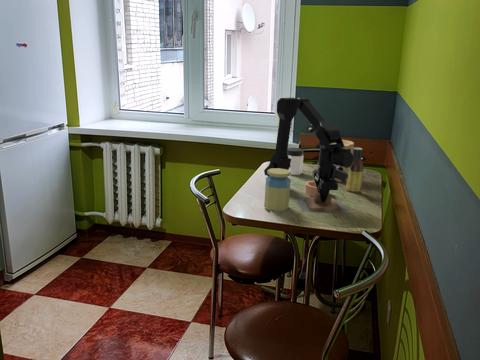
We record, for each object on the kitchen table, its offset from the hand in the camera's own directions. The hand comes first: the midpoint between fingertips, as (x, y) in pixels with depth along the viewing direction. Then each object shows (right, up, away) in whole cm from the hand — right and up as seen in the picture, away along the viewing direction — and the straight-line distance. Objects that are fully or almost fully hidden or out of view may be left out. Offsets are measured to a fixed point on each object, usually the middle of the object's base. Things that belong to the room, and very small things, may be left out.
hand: (322, 200), depth 171 cm
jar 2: (-6, +11, +49) cm, 50 cm away
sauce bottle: (+17, +2, +22) cm, 28 cm away
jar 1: (-18, -3, -3) cm, 19 cm away
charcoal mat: (0, -3, +1) cm, 3 cm away
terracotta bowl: (0, +1, +15) cm, 15 cm away
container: (+15, +9, +43) cm, 46 cm away
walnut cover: (0, -2, +1) cm, 2 cm away
